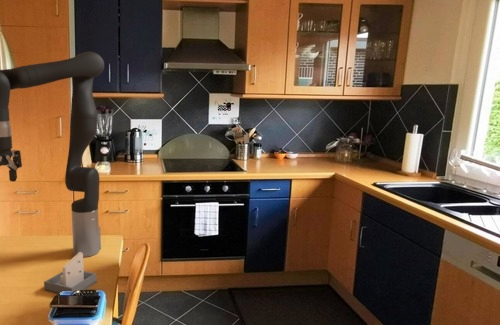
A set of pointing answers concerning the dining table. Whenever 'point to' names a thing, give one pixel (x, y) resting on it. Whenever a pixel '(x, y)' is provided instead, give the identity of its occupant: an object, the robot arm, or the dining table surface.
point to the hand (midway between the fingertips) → (1, 183)
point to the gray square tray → (56, 287)
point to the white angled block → (73, 271)
